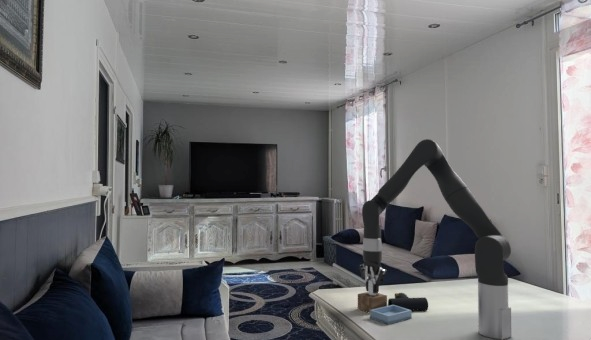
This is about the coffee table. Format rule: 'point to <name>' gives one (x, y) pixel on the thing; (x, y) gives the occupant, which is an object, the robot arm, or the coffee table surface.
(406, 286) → the coffee table surface
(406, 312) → the tray
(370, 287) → the pin
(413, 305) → the pipe connector
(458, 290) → the coffee table surface
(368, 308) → the pin block
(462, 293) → the coffee table surface
